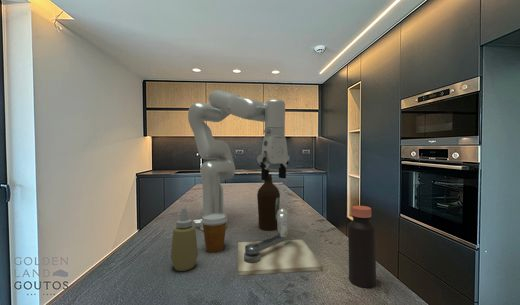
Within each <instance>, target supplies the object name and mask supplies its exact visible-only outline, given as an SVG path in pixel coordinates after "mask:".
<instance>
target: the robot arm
mask: <svg viewBox="0 0 520 305" xmlns="http://www.w3.org/2000/svg"><path fill="white" fill-rule="evenodd" d="M207 98H208V103H205V102H194V103H193V104H191V105H190V107H189V109H188V111H187V112H188V113H187V120H188V124H189V126H190V128H191V131H192V133H193V136H194V140H195V143H196V148H197V152H198V155H199V157H200V158H201V159H204V160H207V161H205V162H203V163H202V164H201V165H200V169H199V172H200V174H199V175H200V178H201V183H202V184H201V186H202V217H203V216H204V215H207V214H213V213H221V214H225V212H224V187H223V185H222V183H221V181H223V180H230V179H232V178H233V177H234V175H235V174H236V166H235V163H234V159H233V156H232V155H233V154H232V152H231V148H230V146H229V145H228V143H227V142H226V141H224V140H220V139H215V138H214V136H213V133H212V130H211V128H210V127H209V125H208V124H207V123H206V122H211V123H220V122H222V121H224V120H225V119H226V118H228V117H229V116H230V115H232V116H235V117H237V118H241V119H244V120H248V121H255V122H263V123H264V130H263V133H264V136H263V140H262V146H261V154H259V155H258V156H257V157H256V160H257V163H258V164H257V165H258V166H259V167H260V168H259V169H261V174H260V175H261V176H260V177H261V178H260V179H261V181H264V182H265V181H268V180H269V174H270V169H269V168H270V165H279V167H278V178H279V179H287V168H288V165H289V163H290V162H289V161H290V158H291V157H290V155H289V154H288V145H287V144H288V142H287V138H286V136H285V134H286V102H285V101H284V100H282V99H268V100H266V101H265V102H263V101H259V100H255V99H250V98H247V97H246V98H245V97H242V96H241V95H239V94H237V93H232V92H228V91H224V90H220V89H216V90H213V91H211V92H210V93H209V94H208V97H207ZM201 220H202V218H200V219H198V218H196V219H193V224H195V225H199V230H200V231H203V232H204V230H203V224H202V222H201ZM226 228H228V224H227V223H226Z"/></svg>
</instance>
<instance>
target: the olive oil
mask: <svg viewBox="0 0 520 305" xmlns="http://www.w3.org/2000/svg"><path fill="white" fill-rule="evenodd" d="M272 175H273V174H271V173H269V180H268V181H265V180H264V183H262V185H261V186H260V187H259V188H258V190H257V192H256V193H257V194H256V197H257V199H256V200H257V212H258V229H260V230H262V231H276V230H277V211H278V210H279V209H280V205H281V204H280V202H281V195H280V194H281V193H280V190H279V189H278V187H277V186H276V185H275V184H274V183H273V177H272Z"/></svg>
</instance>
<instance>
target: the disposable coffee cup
mask: <svg viewBox="0 0 520 305" xmlns="http://www.w3.org/2000/svg"><path fill="white" fill-rule="evenodd" d="M227 217H228V216H227V214H226V213H224V214H221V213H213V214H207V215H204V216H203V215H202V218H201V219H202V220H201V222H202V224H203V230H204V231H203V235H204V243H205V250H206V252H209V253H218V252H221V251H223V250H224V245H225V238H226V229H227V227H226V224H227V222H228V219H229V218H227Z"/></svg>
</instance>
